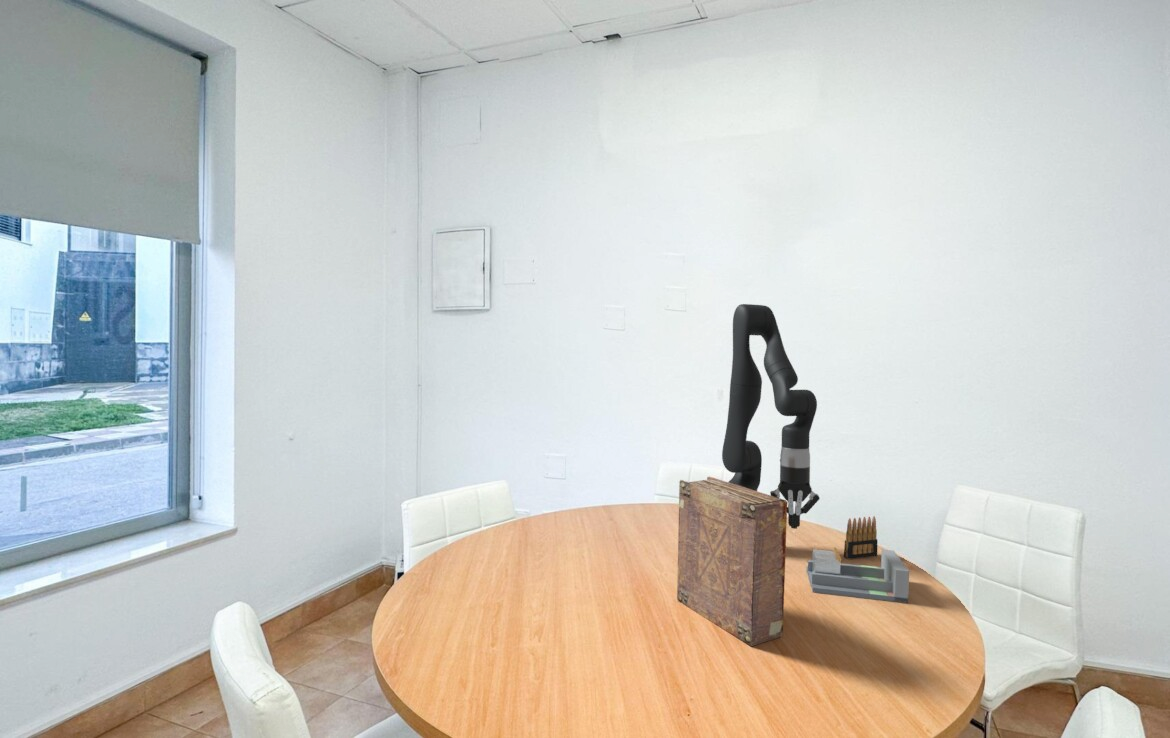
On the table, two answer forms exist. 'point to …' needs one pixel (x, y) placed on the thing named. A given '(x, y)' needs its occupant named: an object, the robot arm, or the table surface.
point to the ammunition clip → (861, 539)
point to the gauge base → (866, 580)
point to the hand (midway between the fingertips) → (794, 527)
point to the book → (732, 557)
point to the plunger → (826, 562)
